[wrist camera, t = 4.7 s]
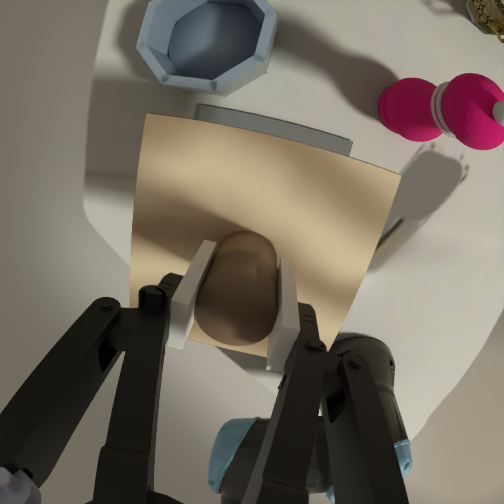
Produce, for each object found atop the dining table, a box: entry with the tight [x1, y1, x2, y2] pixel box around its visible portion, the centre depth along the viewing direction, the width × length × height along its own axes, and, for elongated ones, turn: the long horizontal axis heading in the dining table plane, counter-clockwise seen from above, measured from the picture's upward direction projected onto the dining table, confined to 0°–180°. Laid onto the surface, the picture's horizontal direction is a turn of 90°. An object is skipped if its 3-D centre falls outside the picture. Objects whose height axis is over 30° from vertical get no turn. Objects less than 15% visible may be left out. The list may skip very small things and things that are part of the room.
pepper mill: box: [378, 73, 504, 150], centre depth 21 cm, size 7×7×20 cm
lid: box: [130, 113, 401, 357], centre depth 17 cm, size 16×16×7 cm
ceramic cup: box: [466, 0, 504, 43], centre depth 17 cm, size 13×10×10 cm
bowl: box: [136, 0, 277, 97], centre depth 25 cm, size 13×13×7 cm
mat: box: [197, 105, 353, 156], centre depth 35 cm, size 18×18×1 cm
